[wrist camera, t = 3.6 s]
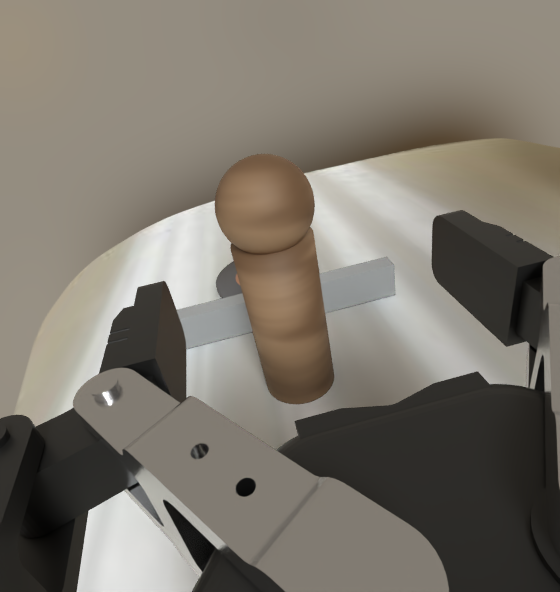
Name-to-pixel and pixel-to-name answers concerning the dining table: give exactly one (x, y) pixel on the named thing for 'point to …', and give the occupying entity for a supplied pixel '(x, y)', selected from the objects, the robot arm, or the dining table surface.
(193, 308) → the low wall
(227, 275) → the pad
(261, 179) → the skittle
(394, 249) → the dining table surface
